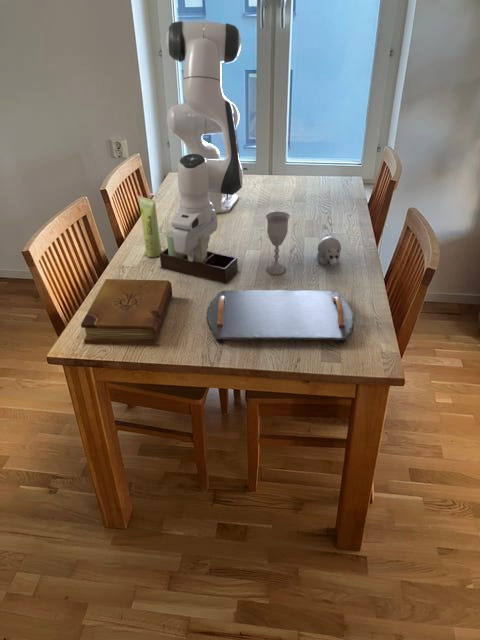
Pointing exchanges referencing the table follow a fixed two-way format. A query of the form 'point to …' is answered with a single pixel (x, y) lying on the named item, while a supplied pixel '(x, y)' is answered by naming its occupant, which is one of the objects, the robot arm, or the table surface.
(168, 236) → the towel roll
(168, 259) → the rack
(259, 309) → the serving tray
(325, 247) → the round bodied animal figurine
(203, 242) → the cosmetic box
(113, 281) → the diary
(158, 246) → the tube
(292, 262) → the table surface
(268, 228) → the chalice
